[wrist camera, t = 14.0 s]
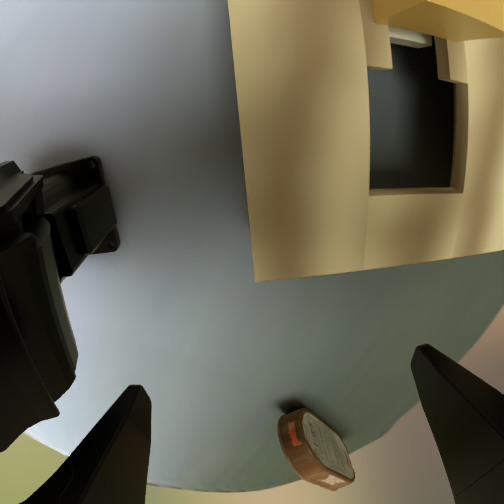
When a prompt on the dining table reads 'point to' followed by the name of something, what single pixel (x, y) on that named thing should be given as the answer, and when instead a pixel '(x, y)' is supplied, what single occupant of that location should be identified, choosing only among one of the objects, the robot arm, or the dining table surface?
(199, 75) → the dining table surface
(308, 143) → the keyhole board
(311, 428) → the tin
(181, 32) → the dining table surface
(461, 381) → the robot arm
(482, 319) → the dining table surface
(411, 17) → the mustard yellow block
